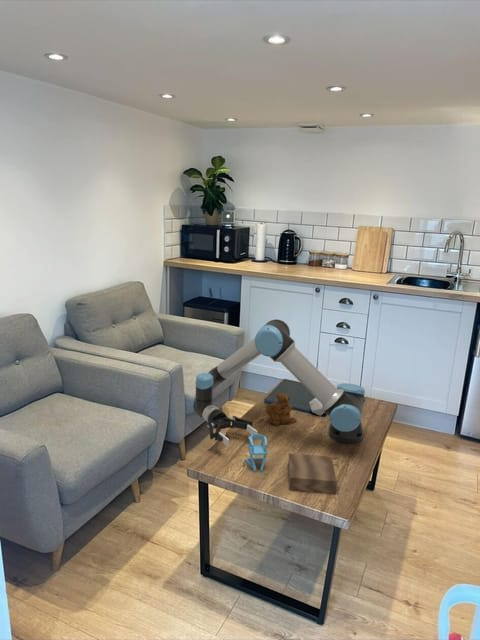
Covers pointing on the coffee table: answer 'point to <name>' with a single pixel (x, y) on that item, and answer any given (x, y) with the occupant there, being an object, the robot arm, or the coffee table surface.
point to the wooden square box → (311, 473)
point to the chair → (257, 451)
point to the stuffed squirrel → (280, 410)
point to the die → (316, 407)
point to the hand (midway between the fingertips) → (242, 438)
